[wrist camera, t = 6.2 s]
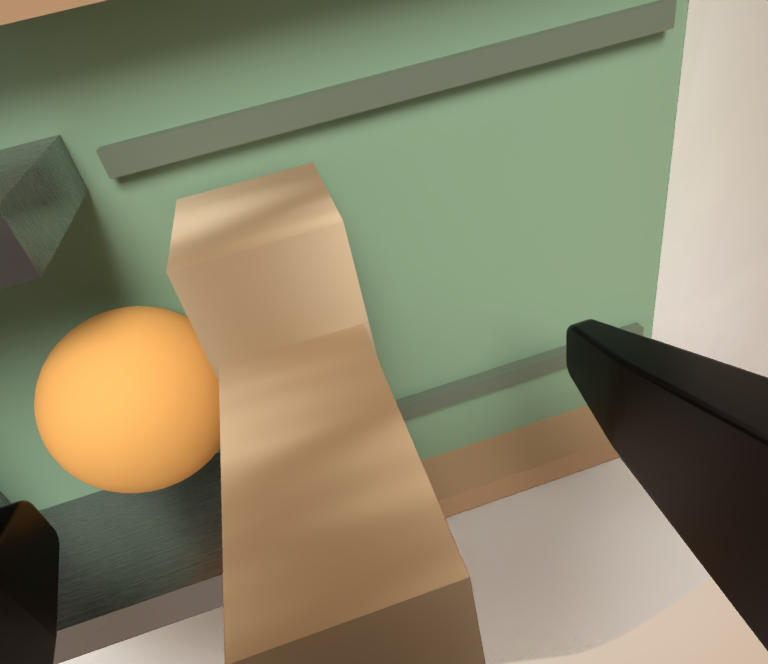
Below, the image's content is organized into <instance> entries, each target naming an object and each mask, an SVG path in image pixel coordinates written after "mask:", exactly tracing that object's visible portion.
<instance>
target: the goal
mask: <svg viewBox="0 0 768 664" xmlns="http://www.w3.org/2000/svg"><path fill="white" fill-rule="evenodd" d="M87 192H88V188H87V186H86V184H85V182H84V180H83V178H82V176H81V174H80V172H79V170H78V168H77V166H76V165H75V163H74V161H73V159H72V157H71V155H70V153H69V151H68V149H67V147H66V145H65V143H64V141H63V140H62V138H61V136H60V134H59V135H55V136H51V137H47V138H44V139H40V140H36V141H32V142H28V143H24V144H20V145H16V146H13V147H9V148H5V149H1V150H0V289H2V288H5V287H9V286H12V285H16V284H20V283H23V282H27V281H30V280H34V279H37V278H41V277H42V275H43V273H44V271H45V270H46V268H47V266H48V264H49V262H50V260H51V258H52V257H53V255H54V253H55V251H56V249H57V247H58V245H59V244H60V242H61V240H62V238H63V236H64V234H65V232H66V231H67V229H68V227H69V225H70V223H71V221H72V219H73V218H74V216H75V214H76V212H77V210H78V208H79V206H80V205H81V203H82V201H83V199H84V197H85V195H86V193H87ZM7 504H11V502H10V501H9V500H8V499H7V498H6V497H5V495H4V494H3V493H2V492H1V491H0V507H1V506H4V505H7ZM39 512H40V513H41V514H42V515H43V516H44V518H45V519H46V520H47V521H48V522H49V523H50V524H51V525H52V527H53V528H54V529H55V531H56V532H57V534H58V538H59V544H60V549H59V585H58V620H57V638H56V646H55V655H54V662H53V664H58V663H61V662H64V661H67V660H70V659H72V658H75V657H78V656H81V655H84V654H87V653H90V652H92V651H95V650H98V649H101V648H104V647H107V646H110V645H112V644H115V643H118V642H121V641H124V640H127V639H130V638H132V637H135V636H138V635H141V634H144V633H147V632H149V631H152V630H155V629H158V628H161V627H164V626H167V625H169V624H172V623H175V622H178V621H181V620H184V619H187V618H189V617H192V616H195V615H198V614H201V613H204V612H207V611H209V610H212V609H215V608H218V607H221V606H224V601H223V552H222V502H221V453H220V452H219V453H216V454H215V455H214V456H213V457H212V459H211V460H210V461H209V462H208V463H206V464H205V465H204V466H203V467H202V468H201V469H200V470H198V471H197V472H196V473H194V474H193V475H191V476H190V477H188V478H186V479H184V480H183V481H181V482H179V483H177V484H174V485H172V486H169V487H166V488H164V489H160V490H156V491H152V492H143V493H118V492H112V491H106V490H101V491H98V492H95V493H92V494H89V495H86V496H83V497H80V498H77V499H73V500H70V501H67V502H64V503H61V504H58V505H55V506H52V507H49V508H46V509H42V510H39Z"/></svg>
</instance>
